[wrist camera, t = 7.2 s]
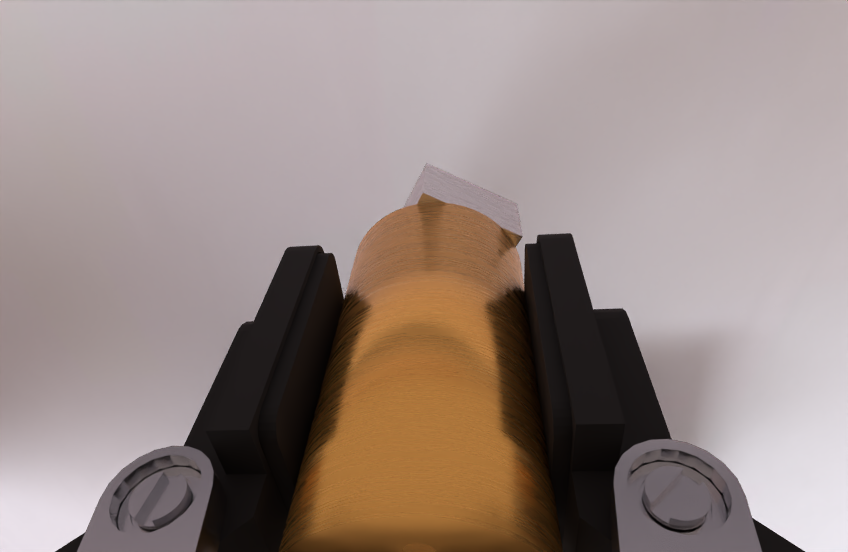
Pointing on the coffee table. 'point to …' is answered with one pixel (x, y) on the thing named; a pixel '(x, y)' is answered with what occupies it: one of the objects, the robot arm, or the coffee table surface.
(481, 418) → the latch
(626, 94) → the coffee table surface
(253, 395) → the robot arm
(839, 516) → the coffee table surface
